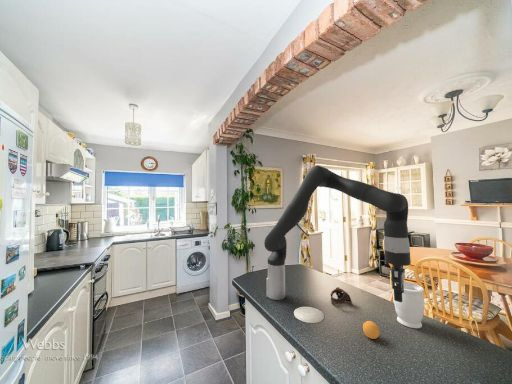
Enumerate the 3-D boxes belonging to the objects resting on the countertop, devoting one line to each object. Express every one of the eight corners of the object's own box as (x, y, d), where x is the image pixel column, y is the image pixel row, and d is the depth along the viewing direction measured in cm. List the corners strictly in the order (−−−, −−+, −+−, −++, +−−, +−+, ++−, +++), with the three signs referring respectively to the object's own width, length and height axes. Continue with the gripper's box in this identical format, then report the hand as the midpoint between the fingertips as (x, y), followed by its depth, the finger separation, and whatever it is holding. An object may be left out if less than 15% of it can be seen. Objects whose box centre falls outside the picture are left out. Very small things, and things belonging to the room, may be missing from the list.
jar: (416, 333, 78) (415, 293, 78) (388, 319, 87) (387, 283, 88) (430, 325, 82) (428, 287, 83) (402, 313, 92) (401, 279, 92)
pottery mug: (357, 310, 96) (350, 296, 94) (338, 317, 97) (331, 304, 96) (347, 292, 107) (341, 280, 106) (330, 299, 109) (324, 287, 108)
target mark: (290, 318, 88) (290, 318, 88) (297, 304, 100) (297, 304, 100) (321, 326, 83) (321, 325, 83) (325, 310, 94) (325, 310, 94)
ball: (363, 339, 74) (362, 324, 75) (362, 331, 79) (362, 316, 80) (380, 344, 72) (380, 328, 72) (379, 335, 77) (378, 319, 77)
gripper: (386, 245, 80) (388, 287, 79) (381, 251, 69) (384, 301, 68) (410, 247, 76) (413, 292, 75) (409, 255, 64) (412, 308, 63)
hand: (399, 296), depth 71 cm, fingers open, 8 cm apart
